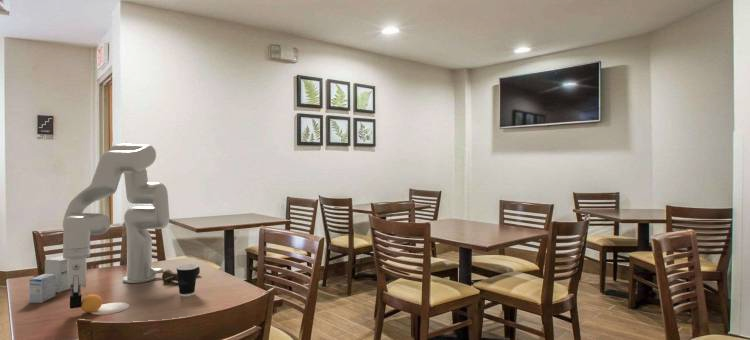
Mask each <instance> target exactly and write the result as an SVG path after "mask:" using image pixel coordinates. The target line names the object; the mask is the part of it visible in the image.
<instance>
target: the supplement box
mask: <svg viewBox="0 0 750 340" xmlns="http://www.w3.org/2000/svg"><path fill="white" fill-rule="evenodd" d="M44 274H55V275H56V279H55V281H56V282H55V293H61V292H64V291H67V290H70V289H69V287H68V278H67V259H63V255H60V256H55V257H51V258H47V259H44Z"/></svg>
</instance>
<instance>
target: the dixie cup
mask: <svg viewBox="0 0 750 340" xmlns="http://www.w3.org/2000/svg"><path fill="white" fill-rule="evenodd" d="M198 266H199V265H198V264H194V263H193V264H192V263H191V264H180V265H177V266H176V267H175V269H176V273H177V276H178V281H177V283H178V292H179V296H180V297H182V296H188V297H191V295H192V296H194V294H195V291H196V290H195V289H196V282H197V281H196V280H197V276H198V275H197V267H198ZM196 275H197V276H196Z"/></svg>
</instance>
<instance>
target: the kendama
mask: <svg viewBox="0 0 750 340" xmlns="http://www.w3.org/2000/svg"><path fill="white" fill-rule="evenodd" d="M200 271H201V269H200V267H199V265H198V267H197V276H199V274H200ZM161 274H162V275H161V279H162V283H166V282H167V283H170V282H173V281H174V282H178V276H177V272H173V271H172V270H170V269H166V270H164V272H163V273H161Z"/></svg>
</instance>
